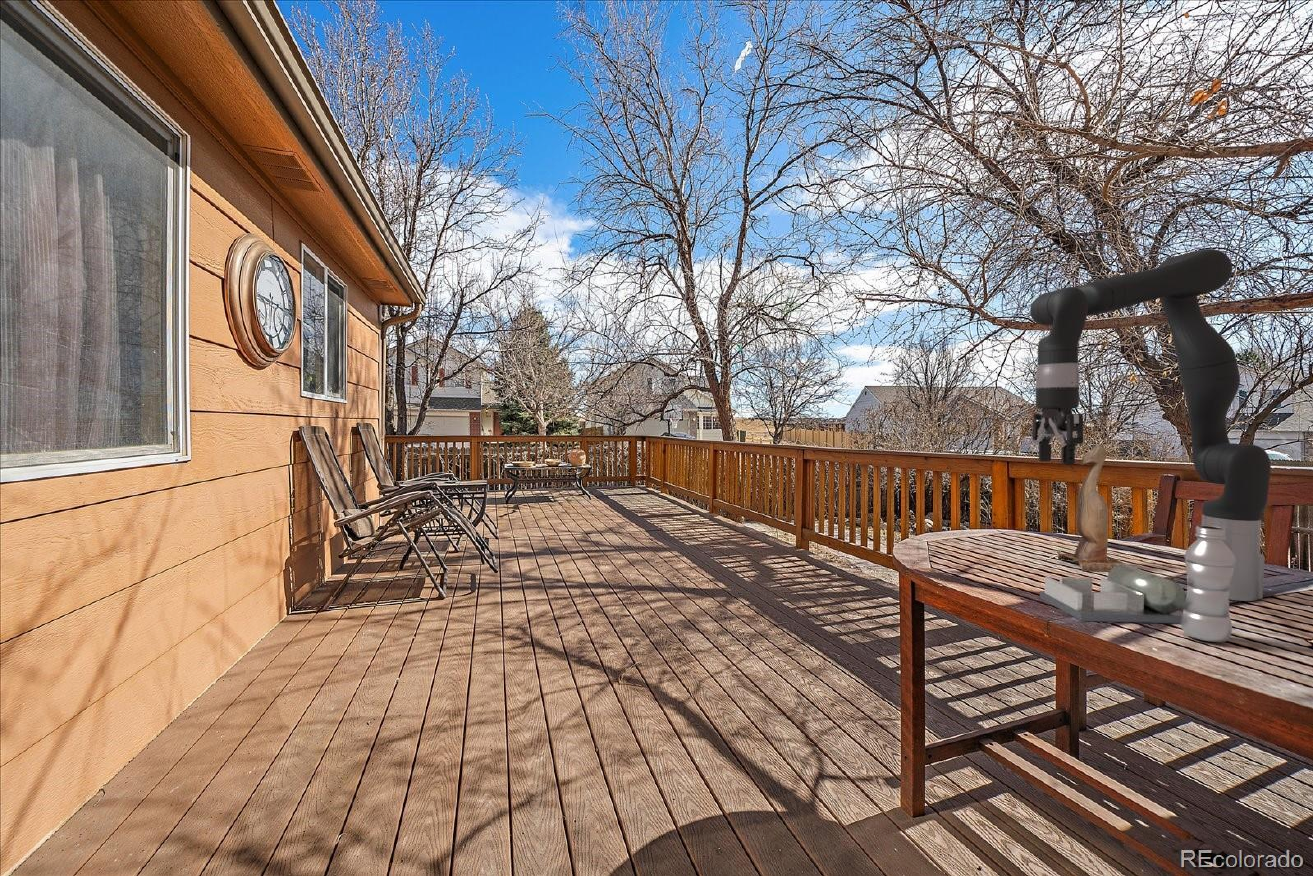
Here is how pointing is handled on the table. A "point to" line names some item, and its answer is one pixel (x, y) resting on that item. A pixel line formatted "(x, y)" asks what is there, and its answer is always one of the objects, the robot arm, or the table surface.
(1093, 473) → the bird sculpture
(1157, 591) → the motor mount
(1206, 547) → the plastic bottle
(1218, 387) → the robot arm
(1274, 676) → the table surface
